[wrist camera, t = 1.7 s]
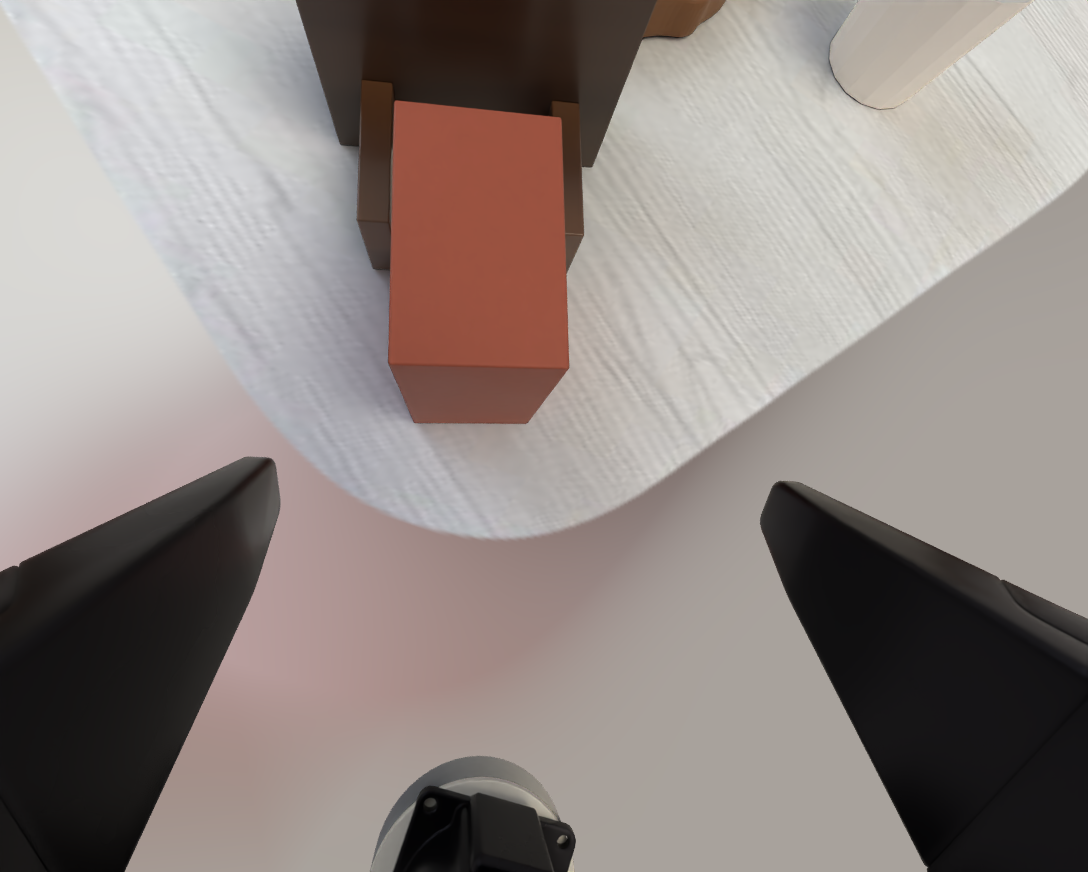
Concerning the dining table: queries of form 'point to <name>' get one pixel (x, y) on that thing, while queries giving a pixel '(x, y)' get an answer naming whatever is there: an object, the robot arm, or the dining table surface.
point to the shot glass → (909, 43)
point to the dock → (471, 78)
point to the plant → (680, 16)
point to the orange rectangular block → (476, 263)
